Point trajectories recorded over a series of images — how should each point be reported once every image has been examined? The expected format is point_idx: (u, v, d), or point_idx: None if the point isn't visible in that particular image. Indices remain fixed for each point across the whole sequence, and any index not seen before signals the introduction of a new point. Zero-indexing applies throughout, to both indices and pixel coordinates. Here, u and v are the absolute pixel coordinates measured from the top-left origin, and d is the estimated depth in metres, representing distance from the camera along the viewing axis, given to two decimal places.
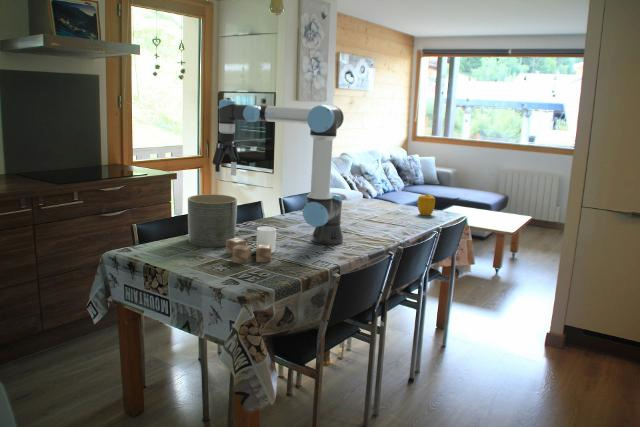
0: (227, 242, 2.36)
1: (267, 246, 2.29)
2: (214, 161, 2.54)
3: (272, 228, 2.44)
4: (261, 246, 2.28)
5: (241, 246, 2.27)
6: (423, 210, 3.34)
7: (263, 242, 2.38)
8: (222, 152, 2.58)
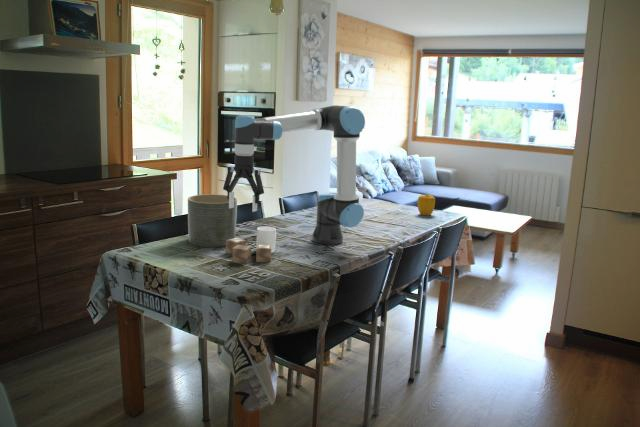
0: (227, 242, 2.36)
1: (267, 246, 2.29)
2: None
3: (272, 228, 2.44)
4: (261, 246, 2.28)
5: (241, 246, 2.27)
6: (423, 210, 3.34)
7: (263, 242, 2.38)
8: None
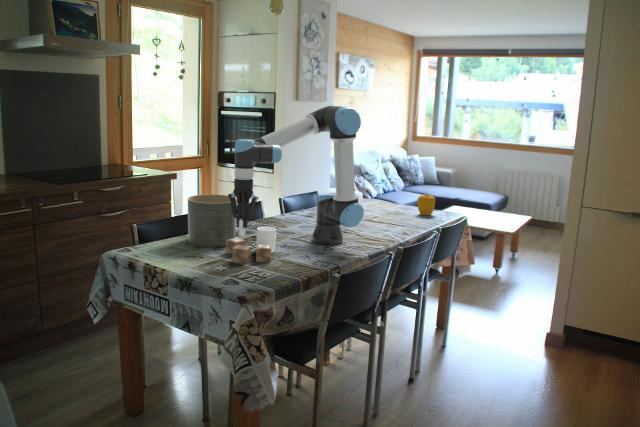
0: (227, 242, 2.36)
1: (267, 246, 2.29)
2: None
3: (272, 228, 2.44)
4: (261, 246, 2.28)
5: (241, 246, 2.27)
6: (423, 210, 3.34)
7: (263, 242, 2.38)
8: None
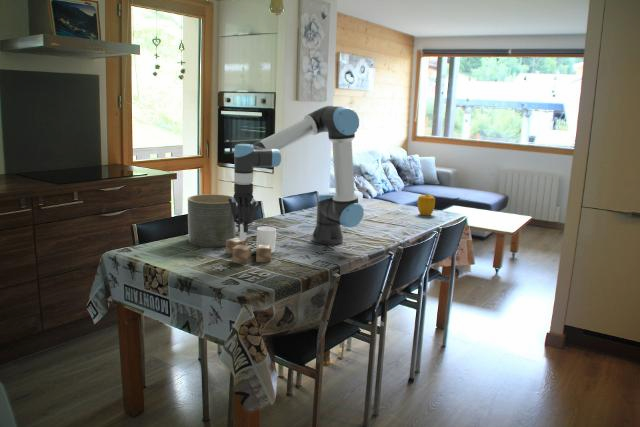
0: (227, 242, 2.36)
1: (267, 246, 2.29)
2: None
3: (272, 228, 2.44)
4: (261, 246, 2.28)
5: (241, 246, 2.27)
6: (423, 210, 3.34)
7: (263, 242, 2.38)
8: None
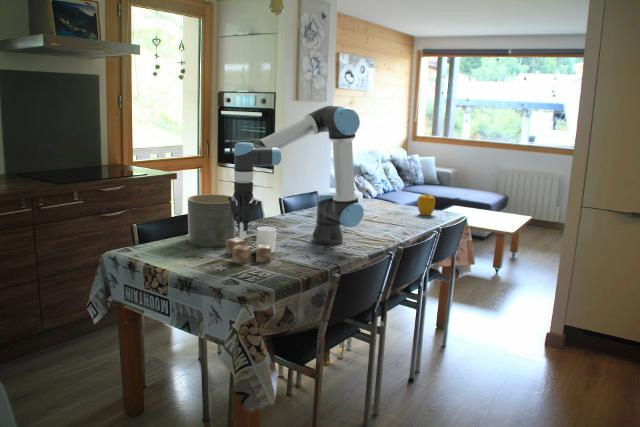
0: (227, 242, 2.36)
1: (267, 246, 2.29)
2: None
3: (272, 228, 2.44)
4: (261, 246, 2.28)
5: (241, 246, 2.27)
6: (423, 210, 3.34)
7: (263, 242, 2.38)
8: None
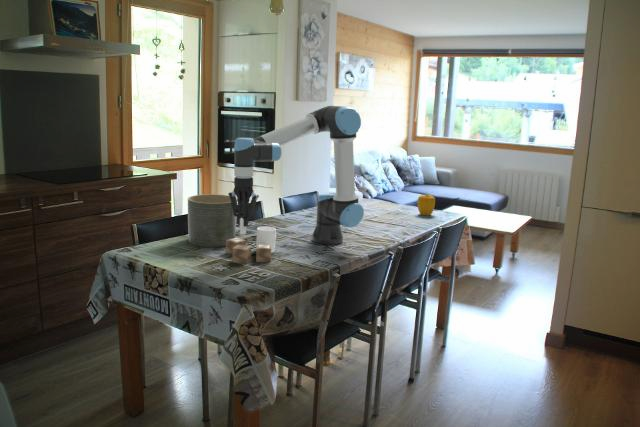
0: (227, 242, 2.36)
1: (267, 246, 2.29)
2: None
3: (272, 228, 2.44)
4: (261, 246, 2.28)
5: (241, 246, 2.27)
6: (423, 210, 3.34)
7: (263, 242, 2.38)
8: None
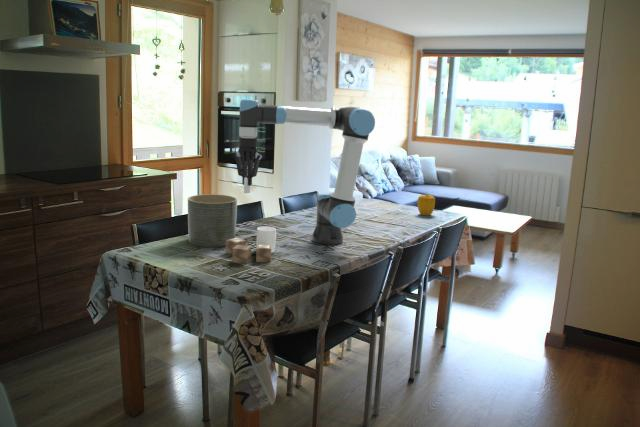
0: (227, 242, 2.36)
1: (267, 246, 2.29)
2: None
3: (272, 228, 2.44)
4: (261, 246, 2.28)
5: (241, 246, 2.27)
6: (423, 210, 3.34)
7: (263, 242, 2.38)
8: None
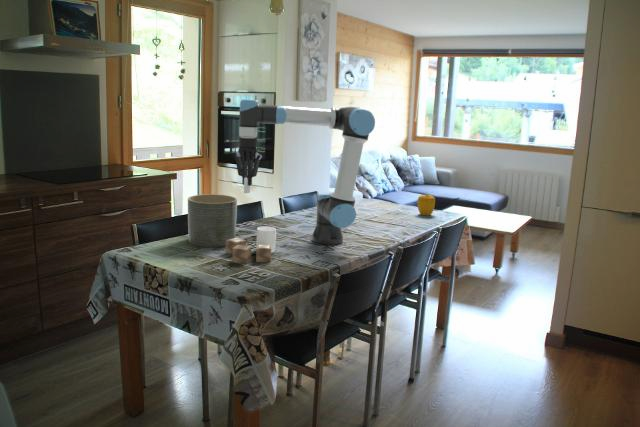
0: (227, 242, 2.36)
1: (267, 246, 2.29)
2: None
3: (272, 228, 2.44)
4: (261, 246, 2.28)
5: (241, 246, 2.27)
6: (423, 210, 3.34)
7: (263, 242, 2.38)
8: None
